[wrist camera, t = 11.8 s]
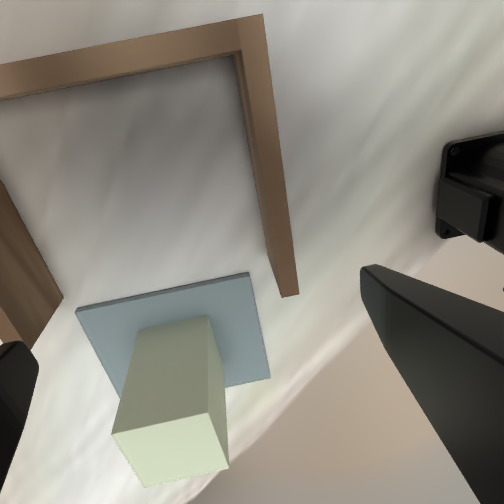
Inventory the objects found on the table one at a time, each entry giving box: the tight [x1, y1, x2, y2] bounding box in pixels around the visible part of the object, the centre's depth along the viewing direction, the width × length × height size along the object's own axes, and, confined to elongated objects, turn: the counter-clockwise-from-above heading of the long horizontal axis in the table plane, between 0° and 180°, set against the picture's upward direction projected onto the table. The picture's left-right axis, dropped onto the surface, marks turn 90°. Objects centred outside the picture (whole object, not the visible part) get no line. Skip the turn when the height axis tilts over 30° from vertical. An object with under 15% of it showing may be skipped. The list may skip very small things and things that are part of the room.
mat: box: [75, 272, 271, 399], centre depth 26 cm, size 12×10×1 cm
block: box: [111, 315, 229, 488], centre depth 22 cm, size 5×5×8 cm
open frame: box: [0, 14, 299, 350], centre depth 18 cm, size 16×13×5 cm
